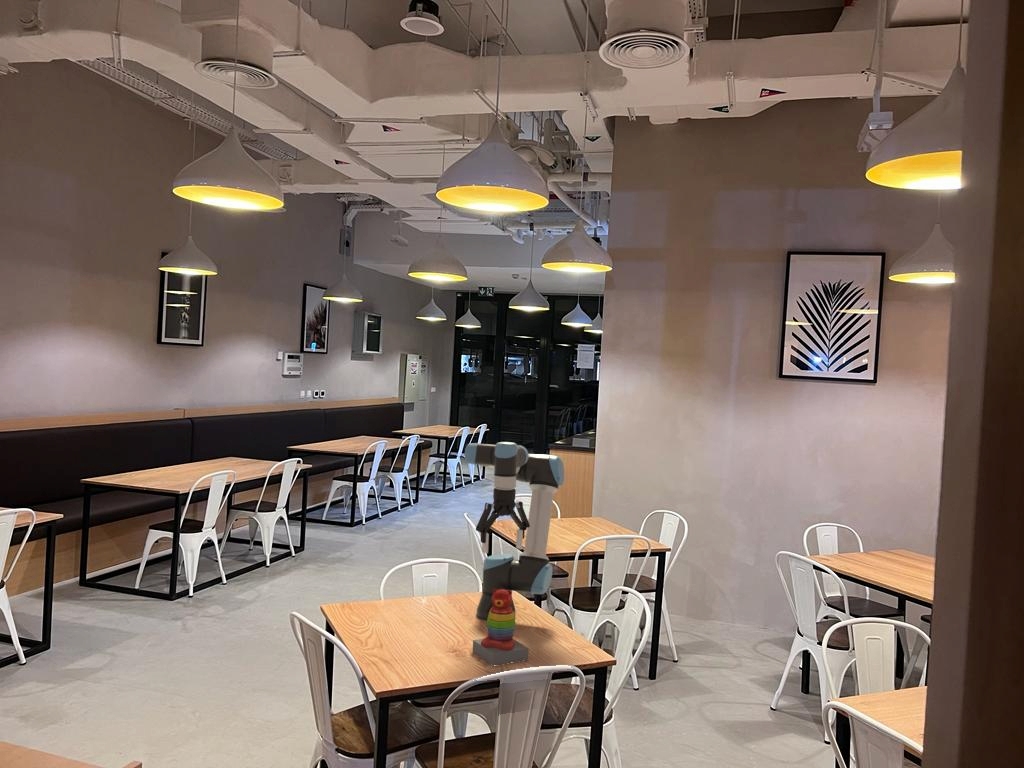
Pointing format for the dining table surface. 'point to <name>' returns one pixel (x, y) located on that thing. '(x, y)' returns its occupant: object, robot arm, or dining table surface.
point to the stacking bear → (500, 622)
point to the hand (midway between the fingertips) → (502, 550)
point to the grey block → (500, 653)
